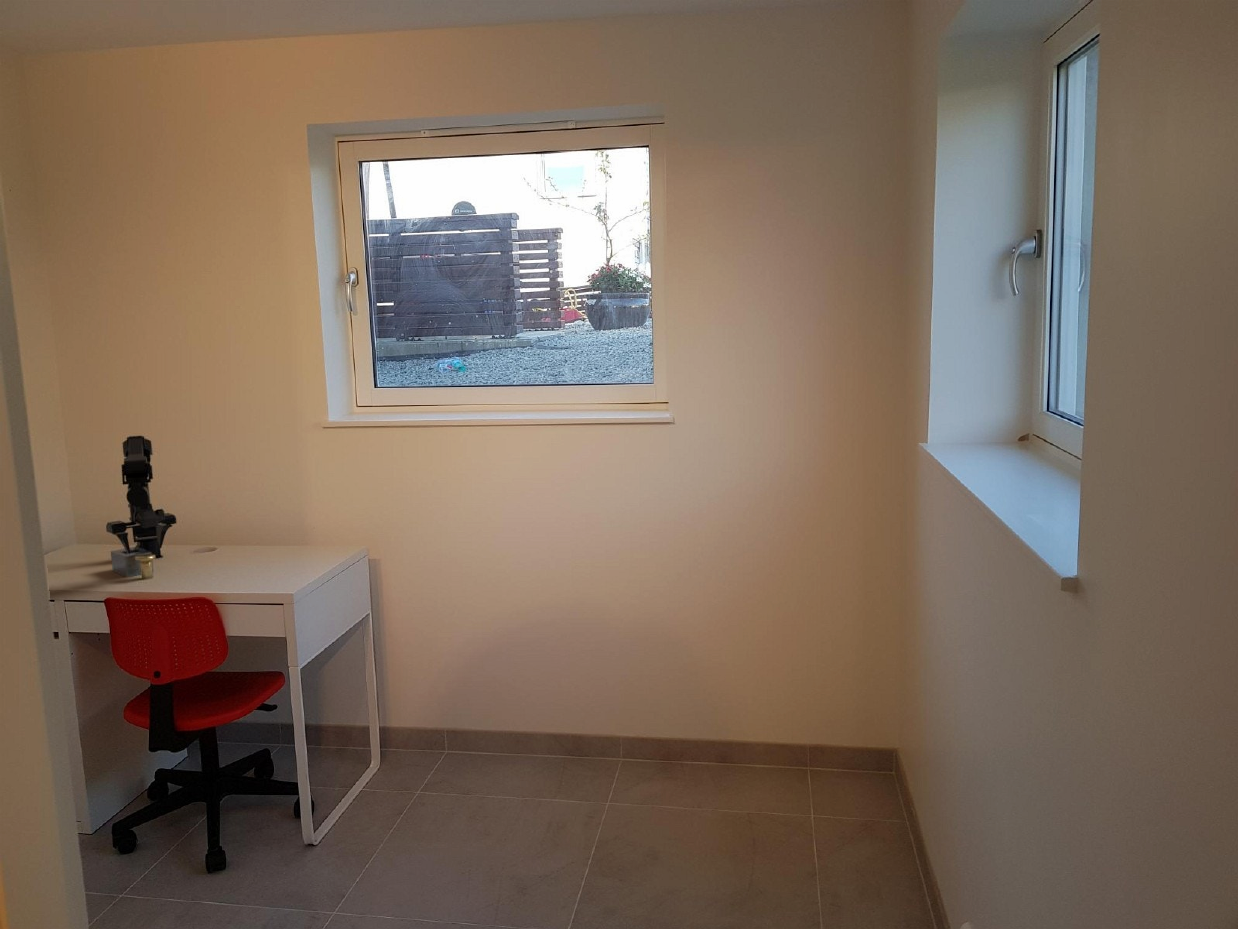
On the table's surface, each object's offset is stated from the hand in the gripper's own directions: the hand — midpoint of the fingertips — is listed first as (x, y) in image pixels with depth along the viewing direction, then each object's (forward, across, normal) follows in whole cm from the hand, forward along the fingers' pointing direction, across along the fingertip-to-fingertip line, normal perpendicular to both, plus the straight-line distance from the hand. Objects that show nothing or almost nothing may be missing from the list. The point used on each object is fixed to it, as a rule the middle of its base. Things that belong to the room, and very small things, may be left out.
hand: (144, 550), depth 302 cm
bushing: (+8, 0, 0) cm, 9 cm away
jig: (+9, 0, +12) cm, 15 cm away
